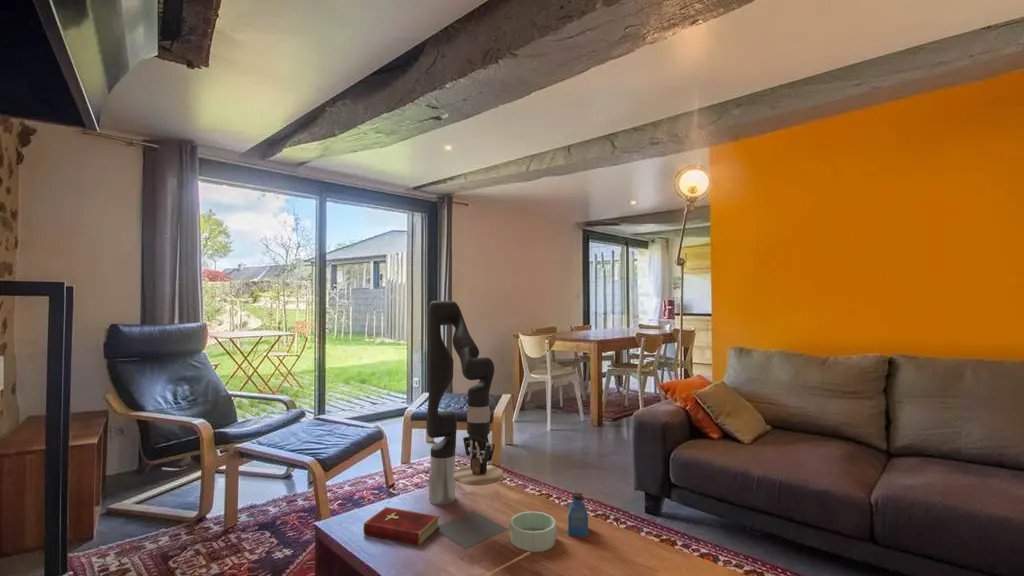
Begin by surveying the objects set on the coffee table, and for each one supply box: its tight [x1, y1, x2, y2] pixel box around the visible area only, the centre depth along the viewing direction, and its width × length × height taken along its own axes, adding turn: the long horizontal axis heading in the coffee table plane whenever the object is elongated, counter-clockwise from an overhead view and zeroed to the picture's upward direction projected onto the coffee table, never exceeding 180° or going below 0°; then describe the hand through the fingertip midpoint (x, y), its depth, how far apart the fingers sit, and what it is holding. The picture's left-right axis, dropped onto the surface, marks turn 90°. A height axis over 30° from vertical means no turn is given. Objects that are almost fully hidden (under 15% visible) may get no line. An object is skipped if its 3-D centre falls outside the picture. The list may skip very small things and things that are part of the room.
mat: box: [436, 510, 509, 550], centre depth 157 cm, size 18×18×1 cm
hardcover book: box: [363, 506, 440, 547], centre depth 155 cm, size 12×21×4 cm, turn 69°
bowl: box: [509, 510, 557, 554], centre depth 150 cm, size 14×14×6 cm
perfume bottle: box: [567, 492, 589, 537], centre depth 156 cm, size 6×6×12 cm
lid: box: [454, 456, 504, 487], centre depth 156 cm, size 16×16×6 cm
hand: (478, 471), depth 156 cm, fingers closed on lid, 4 cm apart
